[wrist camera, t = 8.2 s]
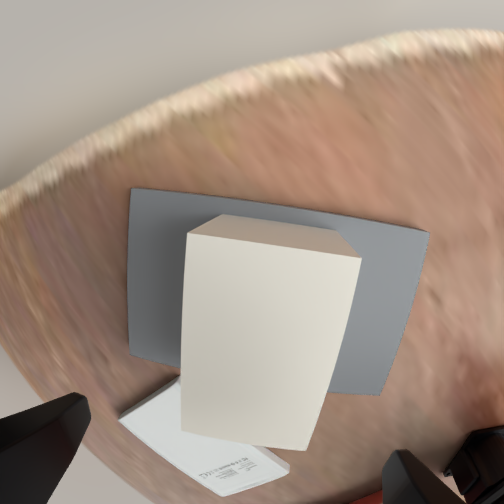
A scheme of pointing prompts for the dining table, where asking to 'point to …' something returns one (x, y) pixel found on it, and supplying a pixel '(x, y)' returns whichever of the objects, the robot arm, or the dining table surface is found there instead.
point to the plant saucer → (371, 499)
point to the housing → (262, 328)
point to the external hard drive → (199, 446)
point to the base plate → (209, 207)
